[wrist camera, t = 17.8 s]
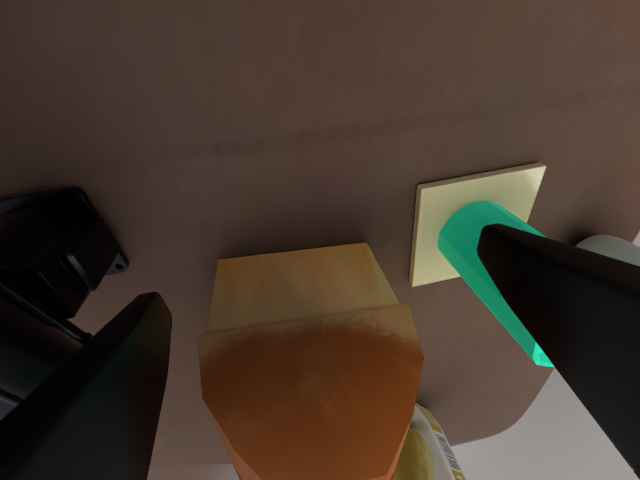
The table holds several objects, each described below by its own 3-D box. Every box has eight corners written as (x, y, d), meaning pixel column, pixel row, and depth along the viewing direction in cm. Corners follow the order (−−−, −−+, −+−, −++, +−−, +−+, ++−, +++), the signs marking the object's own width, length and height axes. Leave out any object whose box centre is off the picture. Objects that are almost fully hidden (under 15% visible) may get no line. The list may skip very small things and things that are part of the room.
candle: (442, 270, 27) (549, 403, 17) (431, 220, 24) (556, 351, 14) (506, 243, 26) (653, 363, 17) (504, 187, 23) (687, 299, 13)
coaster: (408, 281, 28) (412, 287, 28) (416, 184, 22) (421, 189, 22) (506, 260, 29) (512, 265, 28) (538, 161, 23) (547, 165, 23)
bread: (212, 255, 23) (165, 503, 11) (370, 237, 24) (482, 433, 12) (256, 416, 37) (257, 599, 25) (354, 397, 39) (399, 561, 27)
